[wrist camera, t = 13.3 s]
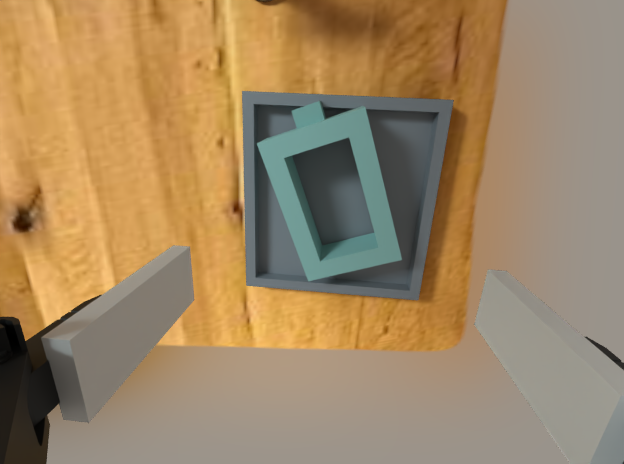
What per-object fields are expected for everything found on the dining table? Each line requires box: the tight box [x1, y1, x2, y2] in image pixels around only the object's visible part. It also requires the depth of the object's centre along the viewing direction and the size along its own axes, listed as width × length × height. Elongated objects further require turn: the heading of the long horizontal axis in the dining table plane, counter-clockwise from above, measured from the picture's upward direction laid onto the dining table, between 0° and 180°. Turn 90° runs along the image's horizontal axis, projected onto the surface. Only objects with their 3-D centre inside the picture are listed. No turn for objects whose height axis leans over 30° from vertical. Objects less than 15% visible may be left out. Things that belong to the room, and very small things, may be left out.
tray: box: [242, 91, 454, 300], centre depth 30 cm, size 19×18×2 cm
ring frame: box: [257, 101, 402, 281], centre depth 28 cm, size 15×9×4 cm, turn 17°
